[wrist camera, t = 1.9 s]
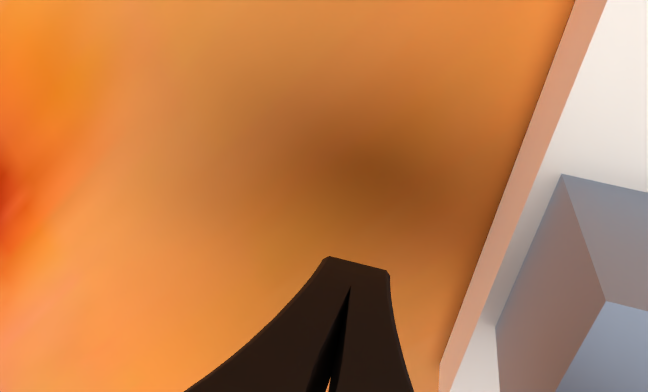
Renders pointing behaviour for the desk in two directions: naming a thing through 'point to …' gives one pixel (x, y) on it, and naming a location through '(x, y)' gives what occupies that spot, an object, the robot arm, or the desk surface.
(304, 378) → the robot arm
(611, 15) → the deck
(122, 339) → the desk surface
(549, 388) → the block
